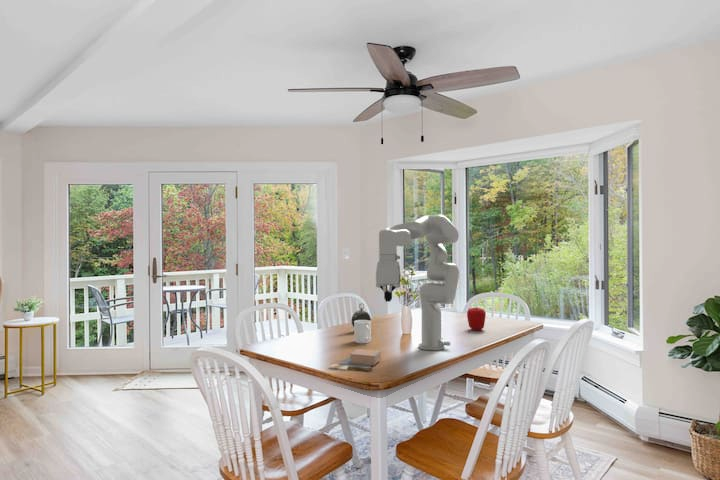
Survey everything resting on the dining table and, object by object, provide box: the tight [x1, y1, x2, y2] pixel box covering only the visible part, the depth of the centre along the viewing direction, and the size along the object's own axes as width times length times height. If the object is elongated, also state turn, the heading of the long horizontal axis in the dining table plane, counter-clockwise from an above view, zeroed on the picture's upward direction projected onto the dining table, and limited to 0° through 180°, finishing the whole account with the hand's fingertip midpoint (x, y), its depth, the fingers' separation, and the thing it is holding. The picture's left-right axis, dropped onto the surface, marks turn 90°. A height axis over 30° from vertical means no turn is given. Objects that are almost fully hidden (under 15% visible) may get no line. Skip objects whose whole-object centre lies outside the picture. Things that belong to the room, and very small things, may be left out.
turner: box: [328, 363, 373, 372], centre depth 189 cm, size 18×5×1 cm, turn 71°
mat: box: [338, 355, 374, 367], centre depth 199 cm, size 14×14×1 cm
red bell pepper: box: [466, 306, 487, 331], centre depth 266 cm, size 10×10×14 cm
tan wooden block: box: [349, 348, 382, 366], centre depth 199 cm, size 4×9×11 cm
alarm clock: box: [351, 303, 372, 328], centre depth 263 cm, size 11×5×16 cm, turn 121°
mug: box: [353, 320, 372, 345], centre depth 236 cm, size 9×12×11 cm
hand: (388, 301), depth 196 cm, fingers closed
